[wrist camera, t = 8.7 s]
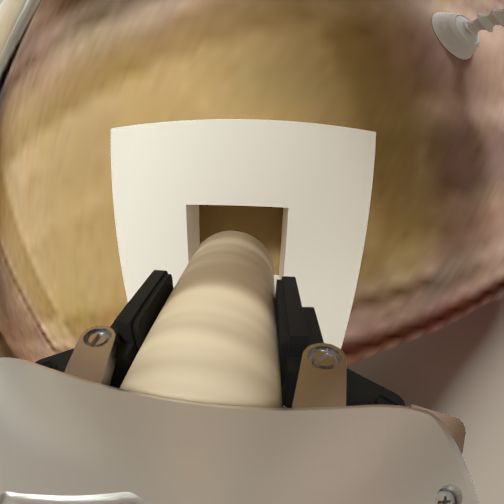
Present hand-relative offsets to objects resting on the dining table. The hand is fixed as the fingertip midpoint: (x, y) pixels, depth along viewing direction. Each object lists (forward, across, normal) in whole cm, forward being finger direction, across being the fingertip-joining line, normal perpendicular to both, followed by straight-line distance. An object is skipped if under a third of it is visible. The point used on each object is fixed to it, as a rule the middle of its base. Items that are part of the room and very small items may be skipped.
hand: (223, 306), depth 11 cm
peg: (+4, 0, 0) cm, 4 cm away
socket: (+9, 0, 0) cm, 9 cm away
